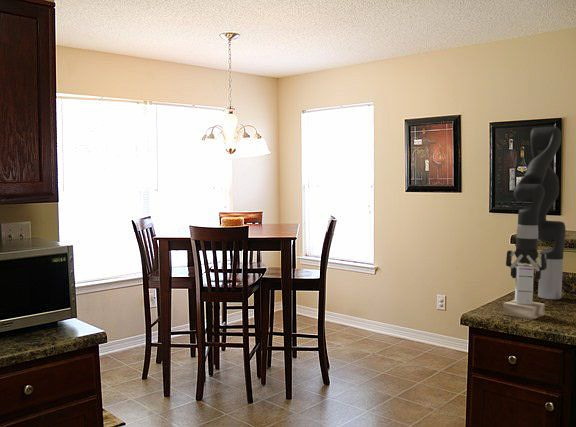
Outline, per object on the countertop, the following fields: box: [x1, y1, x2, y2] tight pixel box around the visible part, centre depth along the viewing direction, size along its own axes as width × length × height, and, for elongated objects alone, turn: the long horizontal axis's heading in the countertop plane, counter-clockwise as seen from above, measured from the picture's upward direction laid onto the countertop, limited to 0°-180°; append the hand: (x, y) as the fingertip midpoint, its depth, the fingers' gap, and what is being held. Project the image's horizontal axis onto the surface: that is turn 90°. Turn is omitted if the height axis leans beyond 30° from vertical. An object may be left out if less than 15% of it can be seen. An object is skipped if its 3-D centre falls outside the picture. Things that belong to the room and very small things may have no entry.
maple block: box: [502, 299, 546, 321], centre depth 221 cm, size 11×11×5 cm
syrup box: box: [514, 263, 535, 305], centre depth 221 cm, size 6×6×14 cm
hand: (525, 279), depth 221 cm, fingers open, 8 cm apart
